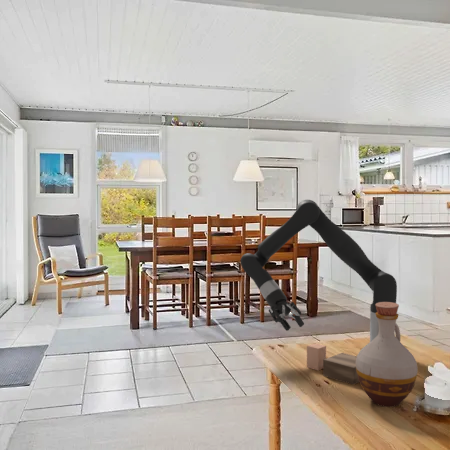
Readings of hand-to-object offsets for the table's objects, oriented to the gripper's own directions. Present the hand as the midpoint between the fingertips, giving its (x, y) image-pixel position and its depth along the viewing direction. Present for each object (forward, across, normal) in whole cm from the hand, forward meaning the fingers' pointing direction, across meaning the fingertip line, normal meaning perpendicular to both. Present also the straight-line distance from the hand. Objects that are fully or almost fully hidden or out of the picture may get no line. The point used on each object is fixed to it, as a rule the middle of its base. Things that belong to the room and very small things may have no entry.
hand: (295, 327), depth 185 cm
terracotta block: (+16, 0, +2) cm, 16 cm away
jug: (+40, -11, -21) cm, 46 cm away
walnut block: (+26, 0, -6) cm, 26 cm away
